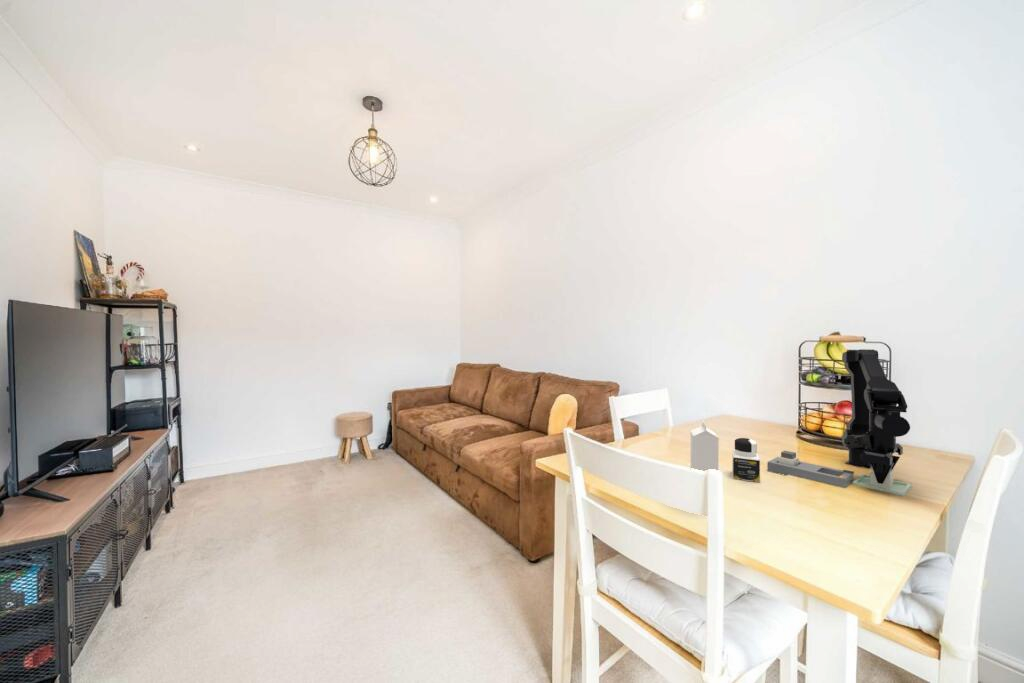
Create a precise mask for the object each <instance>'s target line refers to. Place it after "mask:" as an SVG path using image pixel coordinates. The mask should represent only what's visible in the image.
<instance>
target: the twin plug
mask: <svg viewBox="0 0 1024 683" xmlns="http://www.w3.org/2000/svg"><path fill="white" fill-rule="evenodd" d="M778 457H779V463H781V464H786V465H790V466H795V467H796V466H798V461H799V457H798V456H797V452H794V451H789V450H782V451H781V452H780V456H778Z"/></svg>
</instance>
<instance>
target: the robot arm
mask: <svg viewBox="0 0 1024 683" xmlns="http://www.w3.org/2000/svg"><path fill="white" fill-rule="evenodd" d="M841 361H842V363H844V364H843V366H844V369H845V370H846V372H848V374H849V375H850V387H851V388H850V389H851V390H850V392H851V419H850V420H848V422H847V423H846V425H845V426H846V429H844V432H843V434H842V437H841V443H842V445H843V446H844V447H845V448H847V449H848V459H847V461H846V462H844V464H845V465H849V466H850V465H851V466H855V467H859V468H865V469H871V468H872V467H873V470H874V473H875V476H876V480H877V483H880V484H883V482H884V480H885V479H886V477H887V475H888V473H889V471H890V470H891V469H893V470H894V468H895V466H896V465H897V463H898V461H899V460H900V458H901V456H902V455H903V454H904V453H903V452H904V449H903V448H904V447H903V446H902V445H901V444H900V443H897V438H898V437H903V436H906V435H907V434H908V433H909V432H910V430H911V425H910V422H909V421H908V420H907V418H905V417H903V416H901V413H907V409H908V404H907V401H906V399H905V396H904V395H903V393H902V390H900V389H899V387H898V386H897V384H896V383H895V382H893V381H892V380H889V379H888V378H887V376H886V373H885V370H884V369H883V367H882V364H881V361H880V359H879V352H878V350H877V349H866V348H865V349H847V350H846V351H844V352H842V354H841ZM895 453H897V455H898V456H897V455H894V454H895Z"/></svg>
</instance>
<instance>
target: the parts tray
mask: <svg viewBox="0 0 1024 683" xmlns="http://www.w3.org/2000/svg"><path fill="white" fill-rule="evenodd" d="M852 485H854V486H859V487H863V488H868V489H872V490H875V491H880V492H884V493H889V494H893V495H896V496H897V495H898V496H901V497H905V496H906V495H907V494H908V493H909V491H910V490H911V488H912V487H913V484H912V483H908V482H905V481H904V482H903V481H898V480H894V479H893V487H892V488H891V489H887V488H882V487H878V486H873V485H871V474H866V473H861V474H860V475H858V476H857V477H856V478H855V479H854V481H853V482H852Z"/></svg>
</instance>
